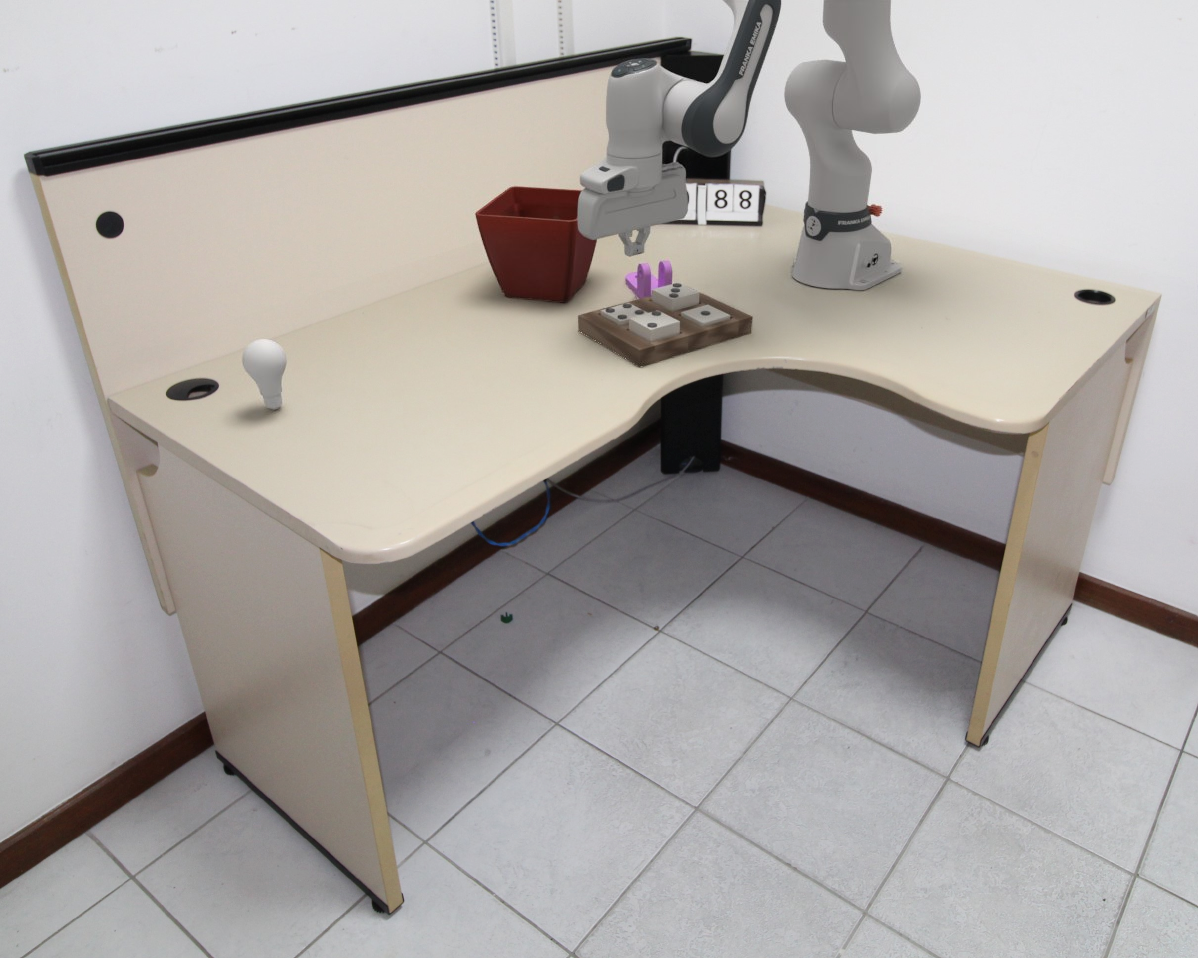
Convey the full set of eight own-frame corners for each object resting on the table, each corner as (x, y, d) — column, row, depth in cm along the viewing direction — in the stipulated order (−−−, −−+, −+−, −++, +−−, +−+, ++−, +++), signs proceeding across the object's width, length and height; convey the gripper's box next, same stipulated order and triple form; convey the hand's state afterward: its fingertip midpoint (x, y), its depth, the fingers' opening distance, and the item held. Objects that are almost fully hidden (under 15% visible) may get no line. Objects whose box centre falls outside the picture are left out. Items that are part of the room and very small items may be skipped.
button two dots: (657, 328, 163) (657, 309, 162) (679, 339, 159) (680, 320, 157) (628, 336, 161) (629, 317, 159) (650, 348, 156) (650, 328, 155)
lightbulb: (258, 400, 146) (243, 333, 140) (299, 398, 146) (286, 331, 140) (249, 419, 141) (233, 350, 135) (291, 417, 141) (277, 348, 135)
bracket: (671, 300, 180) (672, 264, 176) (643, 303, 178) (644, 267, 175) (648, 277, 190) (648, 242, 187) (621, 280, 189) (621, 245, 185)
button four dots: (628, 320, 170) (628, 301, 168) (648, 330, 166) (649, 312, 164) (600, 327, 167) (600, 309, 165) (620, 339, 163) (620, 320, 161)
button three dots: (677, 299, 175) (678, 281, 173) (698, 309, 170) (699, 291, 168) (651, 306, 172) (651, 288, 170) (671, 317, 167) (672, 298, 166)
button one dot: (706, 321, 169) (707, 303, 168) (729, 332, 165) (730, 314, 163) (680, 329, 167) (680, 311, 165) (702, 340, 162) (703, 322, 161)
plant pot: (479, 302, 179) (472, 212, 170) (516, 268, 195) (511, 185, 186) (577, 312, 175) (574, 220, 166) (606, 277, 190) (605, 191, 181)
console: (686, 301, 178) (686, 286, 177) (751, 332, 166) (752, 316, 164) (578, 331, 167) (578, 315, 165) (639, 367, 154) (639, 350, 153)
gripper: (673, 156, 160) (671, 237, 168) (570, 176, 151) (573, 261, 158) (697, 164, 156) (694, 246, 163) (593, 185, 146) (595, 272, 154)
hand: (634, 254), depth 161 cm, fingers closed
